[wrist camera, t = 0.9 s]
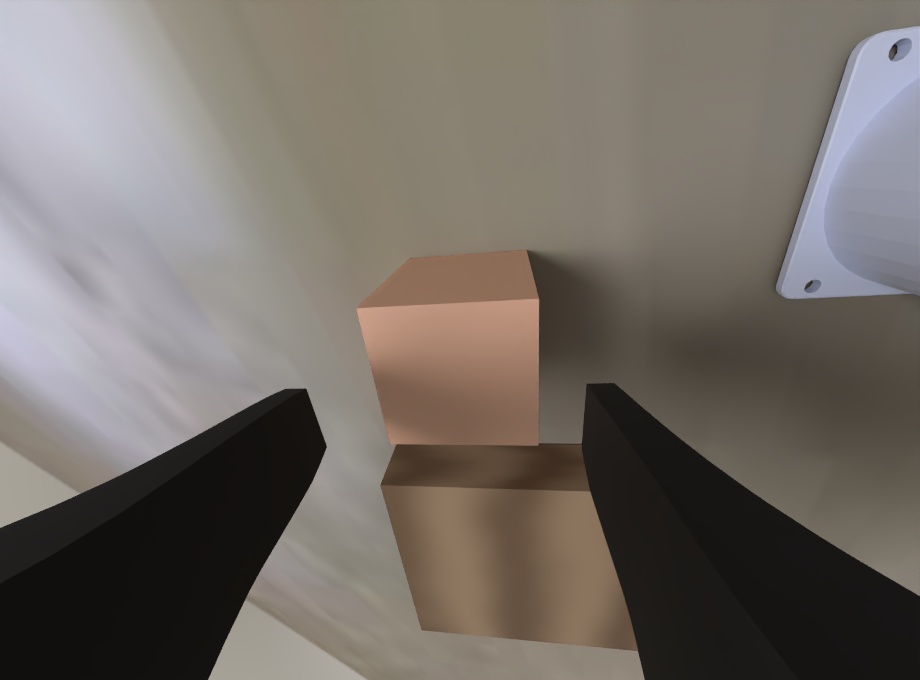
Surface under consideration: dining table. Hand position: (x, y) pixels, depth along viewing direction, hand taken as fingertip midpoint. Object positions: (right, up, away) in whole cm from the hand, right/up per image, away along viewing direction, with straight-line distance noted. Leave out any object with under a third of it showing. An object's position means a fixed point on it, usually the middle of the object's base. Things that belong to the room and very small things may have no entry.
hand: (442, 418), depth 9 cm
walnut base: (+4, -10, +13) cm, 17 cm away
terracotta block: (+1, +3, +7) cm, 8 cm away
